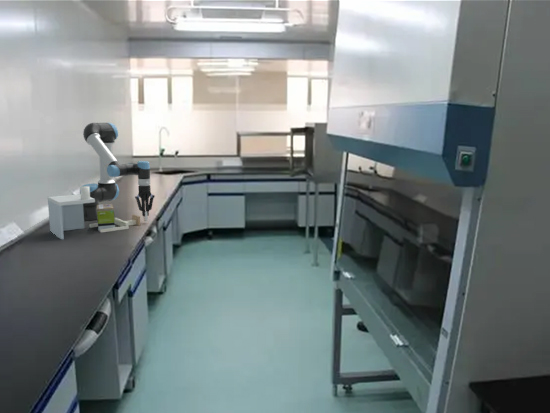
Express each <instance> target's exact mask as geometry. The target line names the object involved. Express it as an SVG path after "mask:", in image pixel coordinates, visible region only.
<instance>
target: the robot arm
mask: <svg viewBox="0 0 550 413" xmlns="http://www.w3.org/2000/svg"><path fill="white" fill-rule="evenodd" d="M118 131H119V130H118V128H117V126H116V125H115V124H114V123H112V122H91V123H88V124H87V125H86V126H85V127H84V129H83V132H82V134H83V139H84V140H85V142H86V143H87V145H89V146H91V147H92V148H93V150H94V151H95V153H96V154H97V155H98V157H99V180H98V181H97V183H94V182H93V183H87V184H83V185H81V186H80V187H82V186H89V187H90V197H91V198H94V199H95V202H93V203H83V212H84V221H97V205H100V203H101V202H110V201H115V200H116V199H117V198H118V197H119V194H120V189H119V185H118V184H117V183H116V181H115V180H114V178H117V177H126V176H137V181H138V182H137V185H138V186H137V187H138V194H137V195H136V196H134V198H135V200H136V203H137V207H138V210H139V211H141V214H142V215H141V216H142V217H143V221H144V222H148V221H149V215H150V213H149V212H150V211H151V210H152V208H153V203H154V199H155V197H156V196H155V194H152V192H151V167H150V162H149V161H147V160H139V161H138V162H137V163H134V162H128V163H122V164H121V163H120V162H119V161H118V160H117V158H116V157H115V156H114V154H113V145H114V144H115V141H116V140H117V139H118V137H119V132H118Z"/></svg>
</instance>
